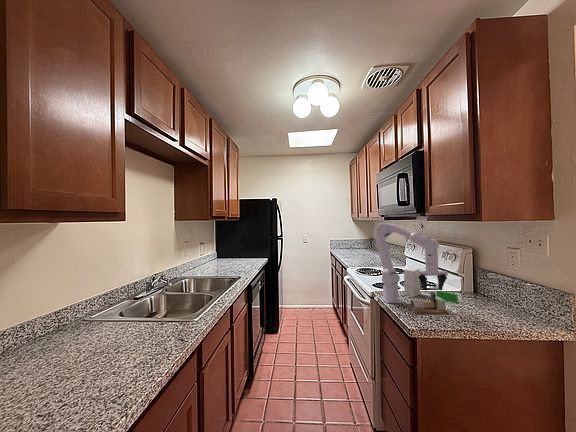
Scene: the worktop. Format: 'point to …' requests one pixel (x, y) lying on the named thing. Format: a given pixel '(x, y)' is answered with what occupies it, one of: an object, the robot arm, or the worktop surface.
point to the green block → (448, 296)
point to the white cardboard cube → (417, 303)
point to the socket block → (440, 303)
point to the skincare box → (411, 282)
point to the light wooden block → (432, 302)
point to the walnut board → (427, 310)
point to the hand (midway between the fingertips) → (432, 290)
